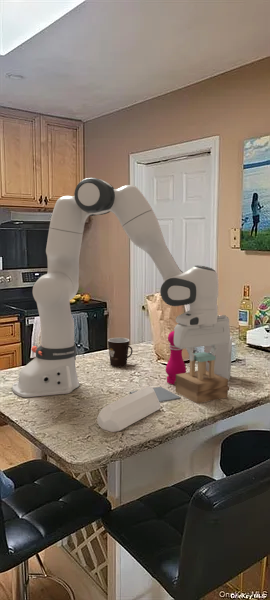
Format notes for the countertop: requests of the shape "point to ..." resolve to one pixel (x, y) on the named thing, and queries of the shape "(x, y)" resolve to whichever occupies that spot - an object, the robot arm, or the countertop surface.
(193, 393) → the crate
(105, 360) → the countertop surface
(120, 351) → the coffee mug
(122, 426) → the crystal
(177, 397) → the mat
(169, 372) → the pepper mill
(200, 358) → the stool
